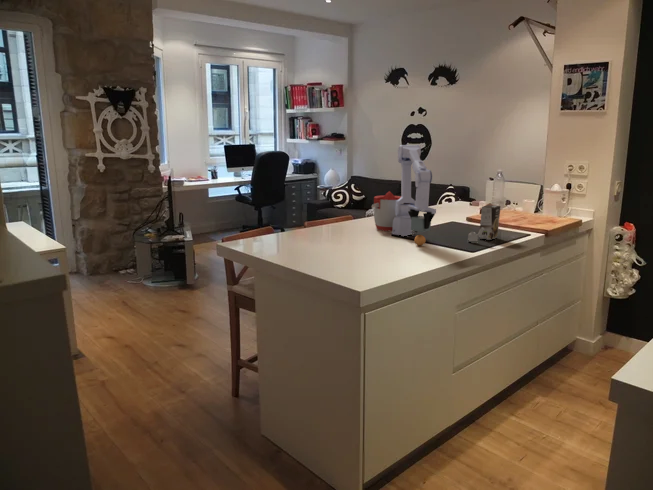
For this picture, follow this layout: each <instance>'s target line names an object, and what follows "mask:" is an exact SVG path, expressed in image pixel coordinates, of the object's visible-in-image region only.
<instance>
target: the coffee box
mask: <svg viewBox="0 0 653 490" xmlns="http://www.w3.org/2000/svg"><path fill="white" fill-rule="evenodd" d="M500 213H501V206H500V205H494V204H493V205H491V204H487V205H484V206H481V213H480V224H479V230H480V229H481V228H482V227H483V228H484V229H485V230H484V231H483V233H482V234H481V236H478V238H479V237H480V238H487V239H493V238H495V237H497V236H499V235H498V234H499V224H500V217H501V215H500Z"/></svg>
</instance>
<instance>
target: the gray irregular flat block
mask: <svg viewBox="0 0 653 490" xmlns="http://www.w3.org/2000/svg"><path fill="white" fill-rule="evenodd" d="M484 230H485V229H484V228H483V227H482V228H481V229H480V228H479V230H478V233H476V232H475V231H471V232H470V233H468V236H467V241H468V240H469V241H478V240H479V236H481V234H482V233H483V231H484Z"/></svg>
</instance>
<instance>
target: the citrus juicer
mask: <svg viewBox="0 0 653 490" xmlns="http://www.w3.org/2000/svg"><path fill="white" fill-rule="evenodd" d="M400 198H401V195H400V196H399V195H394V194H393V193H392V192H391V191H390V190H389V191H388V192H386V193H385V195H376V196H374V197H373V204H371V209H373V219H374V220H373V221H374V225H375V228H376V229H377V230H379V231H380V230H381V231H384V232H389V231H390V232H392V230H393V220H394V218H395V217H396V215H395V205H396V201H397V200H398V199H400ZM401 204H405V203H401Z"/></svg>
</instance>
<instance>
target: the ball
mask: <svg viewBox="0 0 653 490" xmlns="http://www.w3.org/2000/svg"><path fill="white" fill-rule="evenodd" d="M426 241H427V240H426V237H425V236H424V235H422V234H418V235H415V237H414V243H415V245H416V246H418V247H421V246H424V245H425V243H426Z"/></svg>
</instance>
